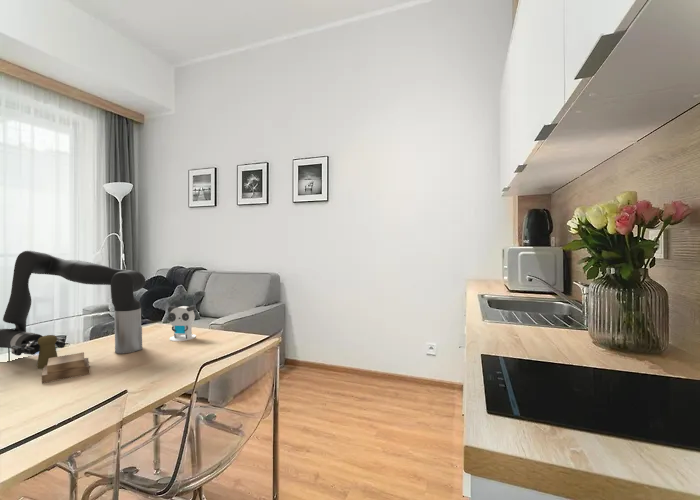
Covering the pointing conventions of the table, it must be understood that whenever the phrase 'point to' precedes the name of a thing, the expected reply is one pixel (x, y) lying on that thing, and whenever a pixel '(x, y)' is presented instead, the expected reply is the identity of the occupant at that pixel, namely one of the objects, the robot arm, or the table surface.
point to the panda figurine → (181, 322)
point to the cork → (46, 350)
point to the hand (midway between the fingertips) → (49, 348)
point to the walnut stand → (65, 367)
